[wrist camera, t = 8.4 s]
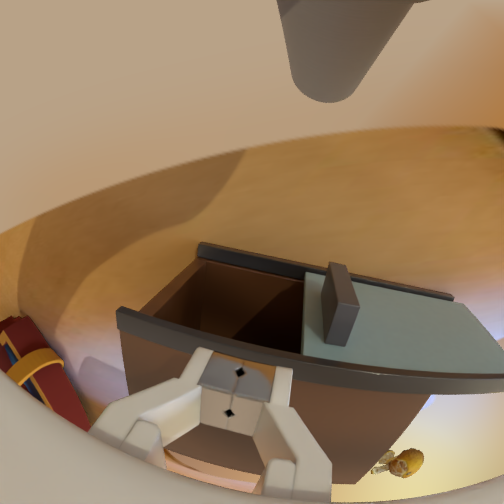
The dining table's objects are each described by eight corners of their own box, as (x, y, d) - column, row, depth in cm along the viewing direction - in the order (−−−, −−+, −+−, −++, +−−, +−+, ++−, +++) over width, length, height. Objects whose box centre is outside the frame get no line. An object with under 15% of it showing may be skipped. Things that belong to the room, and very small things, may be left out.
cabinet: (201, 241, 25) (115, 310, 13) (451, 294, 22) (520, 377, 10) (192, 349, 29) (137, 439, 17) (404, 388, 26) (429, 480, 14)
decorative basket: (19, 279, 36) (-48, 304, 22) (125, 417, 34) (62, 476, 20) (13, 363, 48) (-26, 385, 34) (86, 452, 46) (50, 485, 32)
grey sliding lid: (312, 242, 22) (316, 310, 12) (472, 279, 20) (538, 342, 10) (303, 277, 23) (299, 364, 13) (461, 309, 21) (517, 379, 11)
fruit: (376, 449, 30) (379, 469, 27) (428, 438, 28) (433, 457, 25) (369, 473, 32) (370, 490, 29) (415, 464, 31) (418, 480, 27)
